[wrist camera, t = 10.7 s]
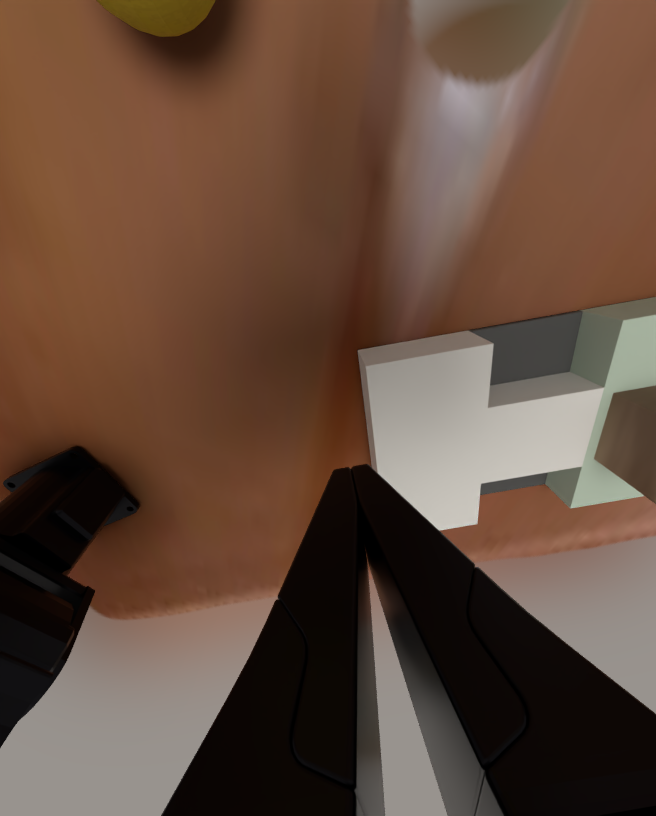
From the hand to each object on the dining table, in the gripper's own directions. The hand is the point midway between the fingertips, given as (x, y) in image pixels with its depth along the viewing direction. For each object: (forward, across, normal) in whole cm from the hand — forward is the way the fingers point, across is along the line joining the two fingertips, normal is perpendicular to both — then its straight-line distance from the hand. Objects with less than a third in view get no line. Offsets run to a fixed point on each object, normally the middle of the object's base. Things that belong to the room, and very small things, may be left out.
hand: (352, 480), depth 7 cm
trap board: (+13, -12, +8) cm, 19 cm away
